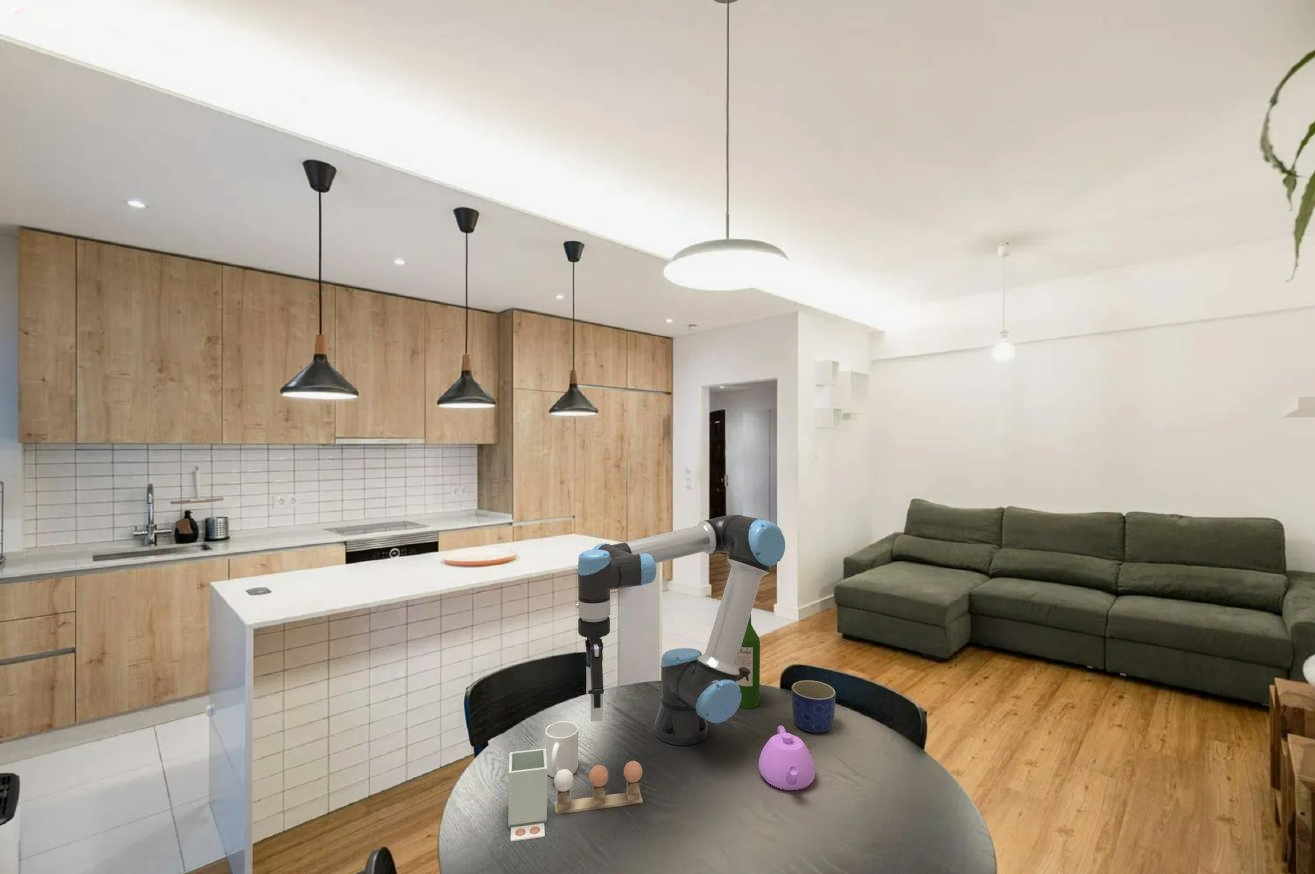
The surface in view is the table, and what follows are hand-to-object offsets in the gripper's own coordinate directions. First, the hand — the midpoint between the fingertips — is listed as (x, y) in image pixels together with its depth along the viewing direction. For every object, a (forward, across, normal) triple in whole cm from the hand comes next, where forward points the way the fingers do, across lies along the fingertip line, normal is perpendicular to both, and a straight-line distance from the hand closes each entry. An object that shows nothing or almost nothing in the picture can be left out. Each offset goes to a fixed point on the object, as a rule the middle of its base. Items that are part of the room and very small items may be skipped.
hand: (594, 706), depth 138 cm
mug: (+21, -9, -8) cm, 24 cm away
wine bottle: (+22, -38, +51) cm, 67 cm away
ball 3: (+17, +4, +9) cm, 19 cm away
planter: (+22, -20, +66) cm, 72 cm away
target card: (+21, +11, -15) cm, 28 cm away
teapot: (+22, +3, +48) cm, 52 cm away
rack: (+21, +4, +1) cm, 21 cm away
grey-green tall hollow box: (+21, +5, -15) cm, 26 cm away
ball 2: (+16, +4, +1) cm, 17 cm away
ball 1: (+16, +4, -7) cm, 19 cm away
